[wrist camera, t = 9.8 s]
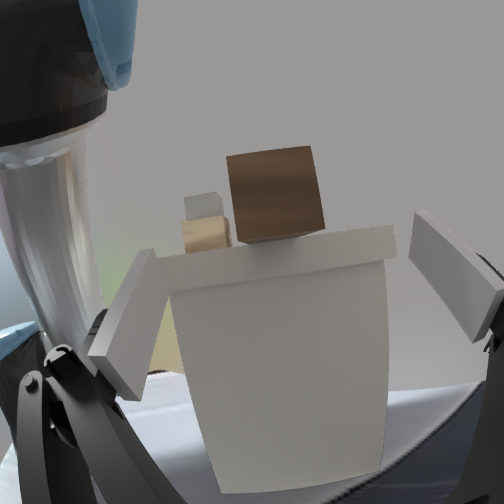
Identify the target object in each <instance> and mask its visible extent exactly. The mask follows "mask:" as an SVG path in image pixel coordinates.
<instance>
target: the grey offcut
mask: <svg viewBox="0 0 504 504" xmlns="http://www.w3.org/2000/svg"><path fill="white" fill-rule="evenodd" d="M184 203H185V212H186V220H187V221H190V220H196V219H201V218H207V217H214V216H220V215H223V216H224V211H223V204H222V198H221V197H220V196H219V195H218V194H217V192H211V193H205V194H200V195H195V196H189V197H184Z"/></svg>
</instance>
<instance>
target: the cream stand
mask: <svg viewBox="0 0 504 504" xmlns="http://www.w3.org/2000/svg"><path fill="white" fill-rule="evenodd" d="M396 257H397V252H396V243H395V235H394V228H393V224H391V225H384V226H376V227H370V228H362V229H354V230H347V231H340V232H333V233H326V234H319V235H312V236H304V237H297V238H290V239H283V240H276V241H269V242H262V243H256V244H249V245H243V246H235V247H228V248H221V249H215V250H208V251H201V252H195V253H188V254H182V255H175V256H168V257H162V258H157V260H158V263H159V266H160V268H161V271H162V274H163V276H164V279H165V282H166V284H167V287H168V289H169V292H170V294H169V298H170V303H171V309H172V314H173V320H174V325H175V330H176V334H177V339H178V344H179V348H180V353H181V358H182V362H183V367H184V370H185V375H186V379H187V383H188V387H189V391H190V395H191V399H192V402H193V406H194V410H195V413H196V417H197V420H198V424H199V427H200V430H201V434H202V437H203V440H204V444H205V447H206V450H207V453H208V456H209V459H210V462H211V465H212V468H213V471H214V474H215V476H216V479H217V482H218V485H219V488H220V490H221V493H222V494H238V493H260V492H273V491H282V490H291V489H298V488H305V487H311V486H317V485H322V484H327V483H332V482H337V481H341V480H346V479H350V478H354V477H357V476H361V475H365V474H368V473H372V472H375V471H378V470H380V465H381V458H382V451H383V444H384V435H385V425H386V414H387V400H388V375H389V331H388V330H389V329H388V306H387V291H386V278H385V268H384V259H391V258H396Z"/></svg>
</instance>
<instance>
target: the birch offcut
mask: <svg viewBox="0 0 504 504" xmlns="http://www.w3.org/2000/svg"><path fill="white" fill-rule="evenodd" d="M182 229H183V236H184V244H185V251H186V254H188V253H195V252H201V251H208V250H215V249H221V248H228V247H233V246H232V239H231V232H230V225H229V220H228V219H227V218H226V217H224V216H223V215H220V216H214V217H207V218H201V219H196V220H190V221H185V222H182Z"/></svg>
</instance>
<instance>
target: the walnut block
mask: <svg viewBox="0 0 504 504" xmlns="http://www.w3.org/2000/svg"><path fill="white" fill-rule="evenodd" d="M226 159H227V166H228V174H229V181H230V189H231V196H232V203H233V210H234V217H235V224H236V232H237V238H238V241H239V242H243V243H246V244H256V243H262V242H269V241H276V240H283V239H290V238H297V237H300V236H304V235H307V234H310V233H313V232H316V231H319V230H323V229H325V223H324V217H323V210H322V205H321V199H320V193H319V188H318V182H317V177H316V172H315V166H314V161H313V156H312V152H311V147H310V146H302V147H293V148H284V149H275V150H267V151H260V152H253V153H246V154H239V155H234V156H227V157H226Z"/></svg>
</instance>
